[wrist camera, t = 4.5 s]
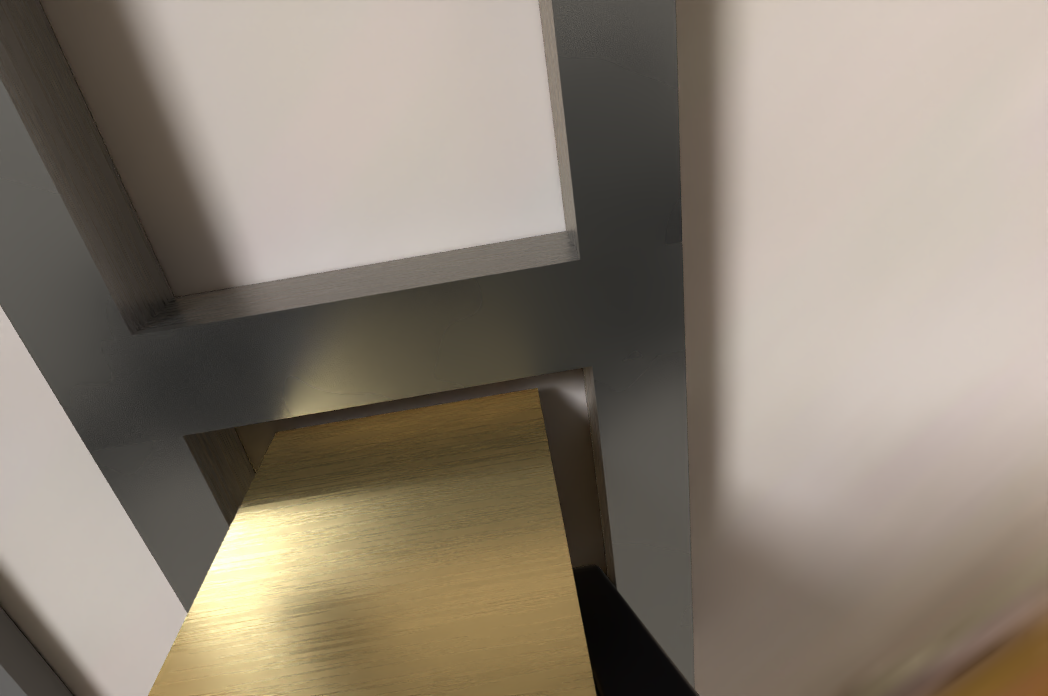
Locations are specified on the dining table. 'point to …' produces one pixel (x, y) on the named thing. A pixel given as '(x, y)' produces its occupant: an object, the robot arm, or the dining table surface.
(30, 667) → the rubber pad
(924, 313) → the dining table surface
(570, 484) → the dining table surface
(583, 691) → the mustard yellow block
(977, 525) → the dining table surface
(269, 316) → the grey slotted frame
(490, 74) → the dining table surface
